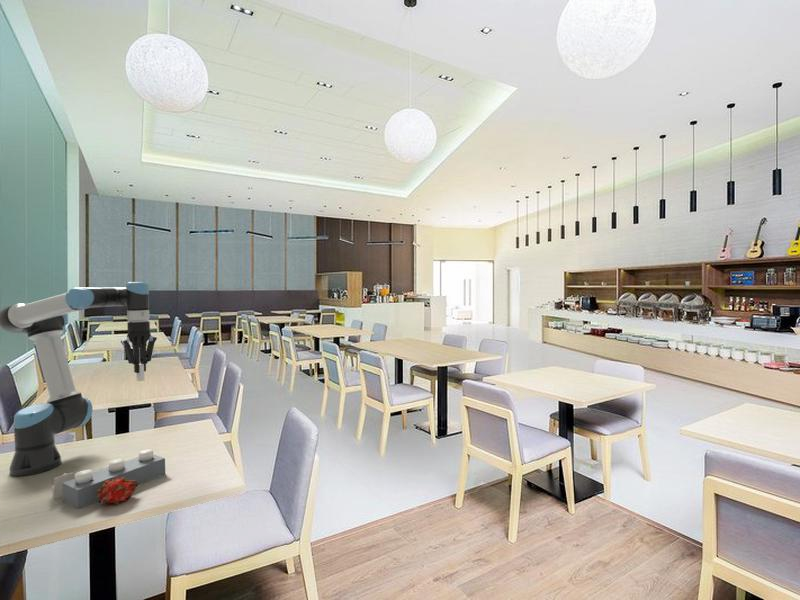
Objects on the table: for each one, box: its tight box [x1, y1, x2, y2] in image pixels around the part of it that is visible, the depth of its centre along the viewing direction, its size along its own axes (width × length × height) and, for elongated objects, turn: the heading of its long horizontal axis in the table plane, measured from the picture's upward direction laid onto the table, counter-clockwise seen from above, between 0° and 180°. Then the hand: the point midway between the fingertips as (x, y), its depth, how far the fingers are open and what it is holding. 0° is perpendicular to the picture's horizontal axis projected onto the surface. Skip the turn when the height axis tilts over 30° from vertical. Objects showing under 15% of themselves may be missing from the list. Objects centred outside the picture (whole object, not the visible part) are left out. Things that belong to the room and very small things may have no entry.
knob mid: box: [108, 458, 126, 473], centre depth 148 cm, size 5×5×8 cm
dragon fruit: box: [96, 477, 139, 505], centre depth 138 cm, size 8×8×12 cm
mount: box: [62, 453, 166, 509], centre depth 148 cm, size 10×28×6 cm, turn 150°
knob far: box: [138, 448, 154, 462], centre depth 157 cm, size 5×5×8 cm
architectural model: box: [50, 471, 75, 500], centre depth 144 cm, size 3×7×7 cm, turn 143°
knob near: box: [74, 469, 94, 485], centre depth 140 cm, size 5×5×8 cm
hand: (140, 380), depth 169 cm, fingers closed
